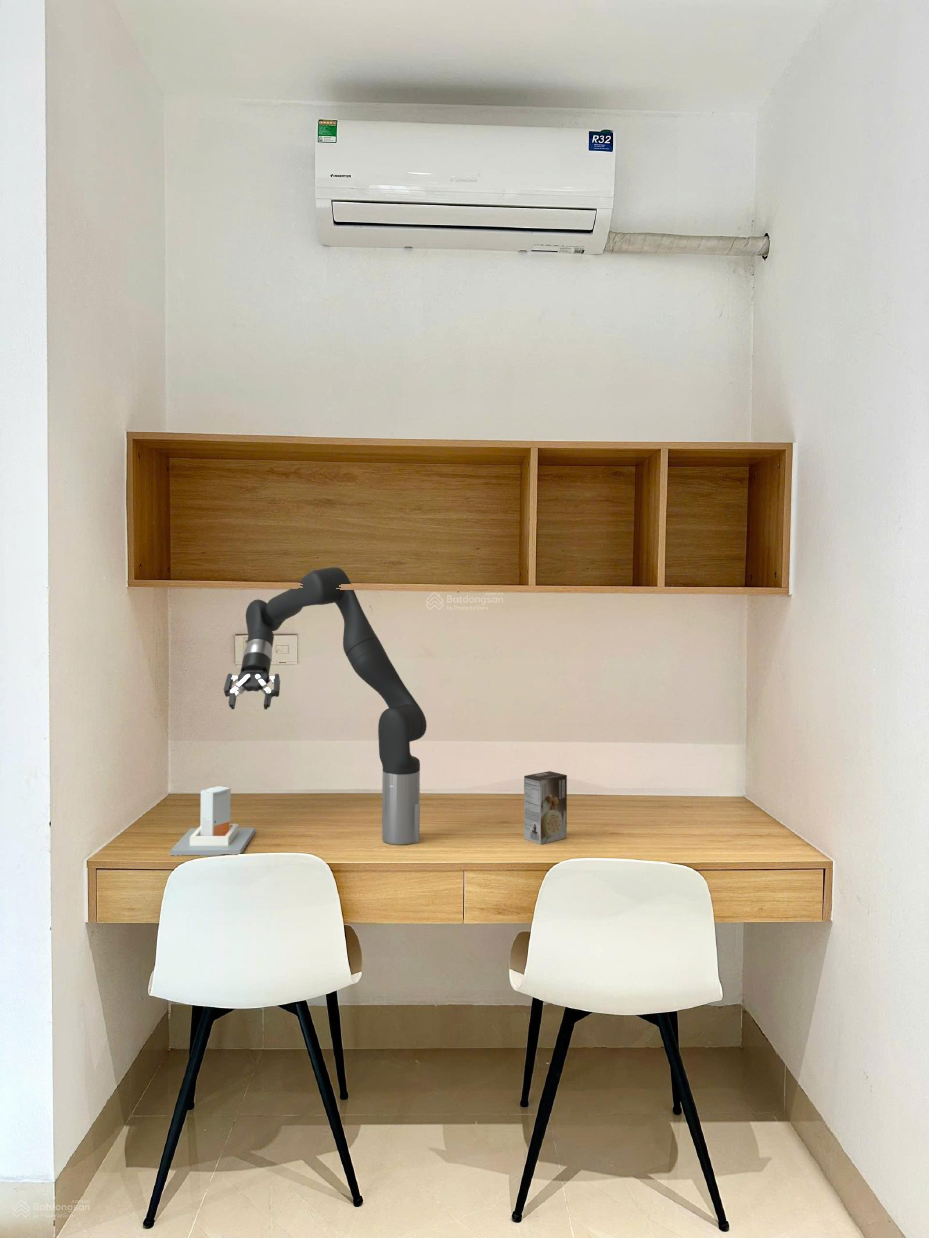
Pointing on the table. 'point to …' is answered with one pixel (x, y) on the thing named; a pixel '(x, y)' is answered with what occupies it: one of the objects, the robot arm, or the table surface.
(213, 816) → the skincare box
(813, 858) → the table surface
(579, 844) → the table surface
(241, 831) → the board
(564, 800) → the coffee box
